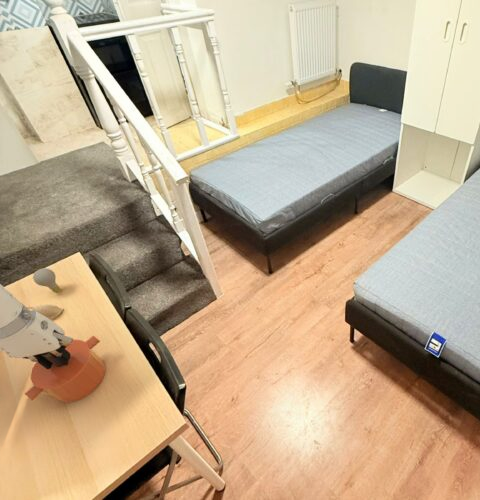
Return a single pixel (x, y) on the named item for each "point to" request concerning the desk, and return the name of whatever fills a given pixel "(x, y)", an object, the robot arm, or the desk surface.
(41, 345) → the robot arm
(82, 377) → the pot
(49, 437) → the desk surface
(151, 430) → the desk surface
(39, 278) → the light bulb
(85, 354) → the pot lid
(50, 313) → the decorative ornament
